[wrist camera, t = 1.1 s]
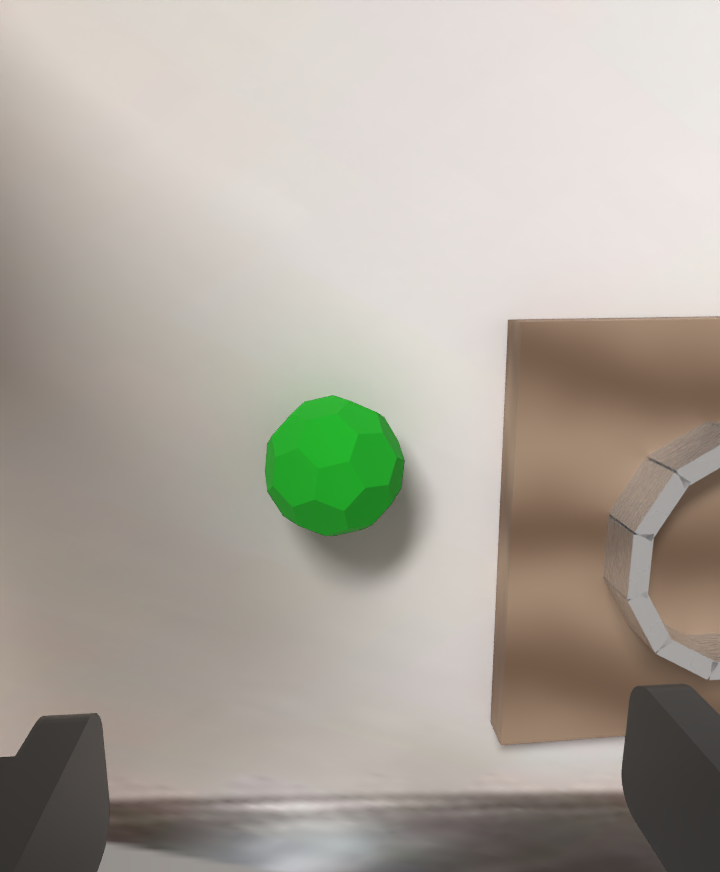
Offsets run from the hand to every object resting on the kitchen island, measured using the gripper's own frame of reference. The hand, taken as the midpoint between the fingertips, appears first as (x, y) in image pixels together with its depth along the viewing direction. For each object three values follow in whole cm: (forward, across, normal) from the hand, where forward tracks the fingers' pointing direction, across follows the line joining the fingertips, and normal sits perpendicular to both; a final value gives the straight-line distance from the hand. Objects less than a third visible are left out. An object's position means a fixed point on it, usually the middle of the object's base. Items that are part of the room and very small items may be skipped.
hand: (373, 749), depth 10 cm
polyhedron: (+17, 0, -1) cm, 17 cm away
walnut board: (+16, -16, +3) cm, 23 cm away
